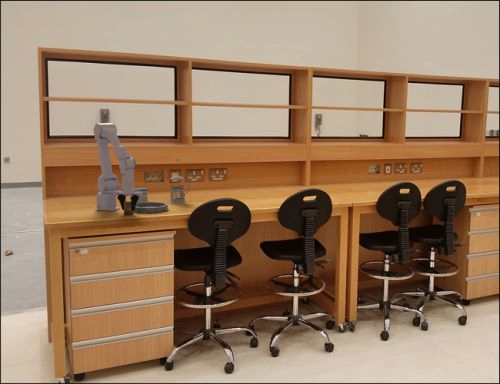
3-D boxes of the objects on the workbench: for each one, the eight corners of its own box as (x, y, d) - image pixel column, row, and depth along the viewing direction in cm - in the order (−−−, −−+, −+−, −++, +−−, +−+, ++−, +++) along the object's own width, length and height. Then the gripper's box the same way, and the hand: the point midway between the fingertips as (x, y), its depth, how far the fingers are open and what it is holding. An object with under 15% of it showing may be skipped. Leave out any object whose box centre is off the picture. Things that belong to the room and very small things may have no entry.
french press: (167, 201, 280) (167, 157, 276) (188, 200, 283) (187, 157, 279) (169, 204, 270) (169, 159, 267) (190, 203, 273) (190, 159, 270)
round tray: (125, 211, 247) (125, 206, 246) (140, 205, 264) (140, 201, 264) (159, 213, 243) (159, 208, 243) (172, 207, 260) (172, 202, 260)
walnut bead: (122, 214, 239) (122, 202, 238) (126, 212, 244) (126, 200, 243) (130, 214, 238) (130, 202, 237) (134, 212, 243) (134, 201, 242)
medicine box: (134, 205, 265) (134, 189, 264) (131, 204, 269) (130, 188, 268) (147, 204, 270) (147, 188, 269) (144, 203, 274) (144, 187, 272)
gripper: (110, 183, 236) (111, 210, 238) (138, 184, 233) (138, 212, 235) (117, 181, 243) (117, 208, 245) (144, 182, 240) (144, 209, 242)
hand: (128, 210), depth 241 cm, fingers closed on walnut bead, 4 cm apart
